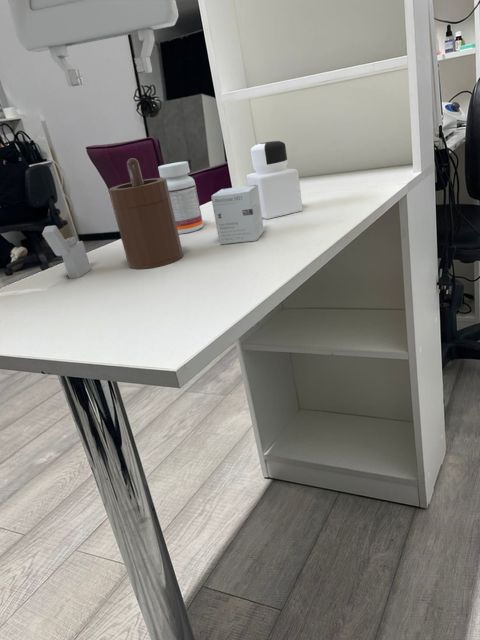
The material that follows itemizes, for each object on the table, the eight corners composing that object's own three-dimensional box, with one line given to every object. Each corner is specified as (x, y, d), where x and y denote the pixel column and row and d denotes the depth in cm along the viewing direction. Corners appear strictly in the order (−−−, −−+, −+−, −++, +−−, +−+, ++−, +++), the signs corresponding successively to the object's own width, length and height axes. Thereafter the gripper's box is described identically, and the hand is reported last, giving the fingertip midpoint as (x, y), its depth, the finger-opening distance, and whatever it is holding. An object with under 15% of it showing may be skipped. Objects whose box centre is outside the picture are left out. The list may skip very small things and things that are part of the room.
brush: (140, 261, 78) (114, 161, 72) (147, 254, 81) (123, 158, 75) (164, 258, 77) (139, 157, 71) (170, 251, 80) (147, 154, 75)
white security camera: (287, 206, 101) (278, 138, 96) (303, 210, 95) (294, 138, 90) (252, 214, 99) (240, 146, 94) (266, 219, 93) (254, 146, 88)
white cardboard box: (219, 245, 82) (209, 195, 79) (228, 235, 87) (219, 188, 84) (258, 240, 80) (249, 190, 77) (265, 230, 86) (257, 183, 82)
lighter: (81, 270, 81) (64, 217, 78) (91, 268, 81) (75, 215, 78) (58, 285, 75) (39, 228, 72) (70, 284, 75) (51, 227, 72)
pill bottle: (174, 228, 100) (160, 164, 95) (207, 223, 99) (193, 159, 94) (166, 236, 94) (150, 169, 89) (200, 231, 93) (186, 163, 88)
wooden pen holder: (121, 272, 76) (99, 193, 72) (139, 256, 84) (120, 183, 79) (175, 265, 75) (156, 184, 71) (188, 249, 82) (172, 175, 78)
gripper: (170, -63, 65) (193, 66, 70) (15, -28, 68) (50, 92, 74) (155, -77, 59) (182, 64, 65) (-13, -39, 62) (26, 92, 68)
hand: (110, 79), depth 69 cm, fingers open, 8 cm apart
